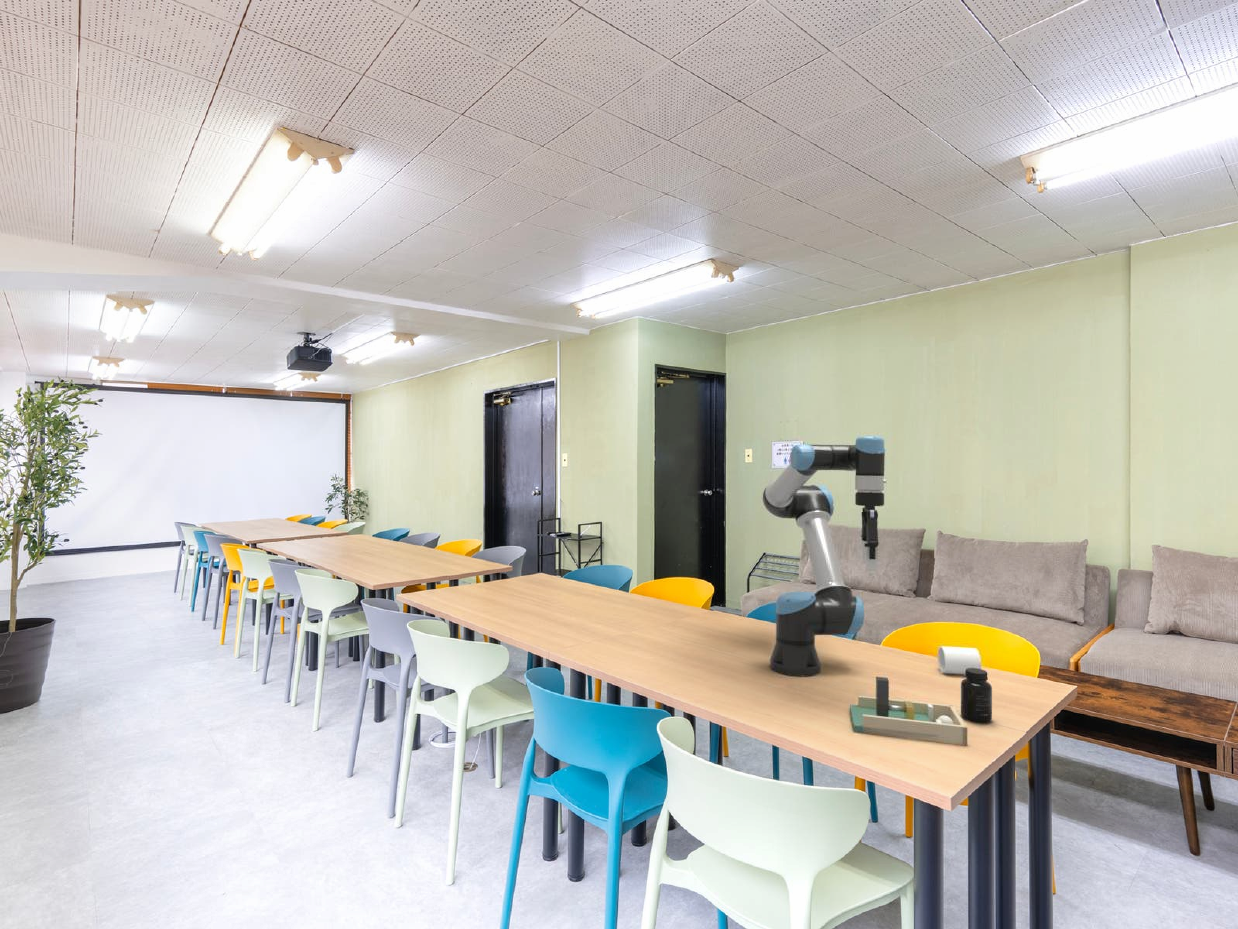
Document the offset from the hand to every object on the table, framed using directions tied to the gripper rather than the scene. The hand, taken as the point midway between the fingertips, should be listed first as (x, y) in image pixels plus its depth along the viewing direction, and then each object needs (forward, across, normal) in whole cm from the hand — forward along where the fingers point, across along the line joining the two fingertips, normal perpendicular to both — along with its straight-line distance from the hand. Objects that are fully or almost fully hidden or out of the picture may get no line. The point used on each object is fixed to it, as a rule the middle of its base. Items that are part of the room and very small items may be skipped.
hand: (869, 567), depth 175 cm
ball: (+33, -23, -15) cm, 43 cm away
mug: (+35, +28, -28) cm, 53 cm away
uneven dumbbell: (+33, -23, -4) cm, 40 cm away
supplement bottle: (+35, -12, -24) cm, 44 cm away
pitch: (+35, -23, -6) cm, 42 cm away
